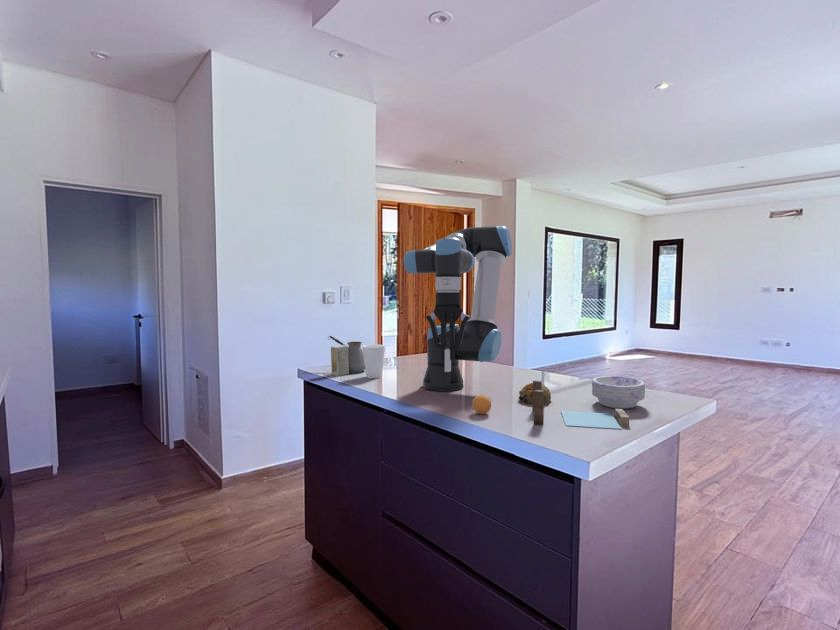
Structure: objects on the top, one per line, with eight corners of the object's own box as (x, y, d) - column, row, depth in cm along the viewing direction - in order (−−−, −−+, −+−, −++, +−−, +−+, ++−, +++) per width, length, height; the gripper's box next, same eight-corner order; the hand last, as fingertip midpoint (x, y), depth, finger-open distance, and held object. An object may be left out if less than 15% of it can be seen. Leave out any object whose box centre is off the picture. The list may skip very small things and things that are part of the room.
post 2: (533, 421, 123) (533, 389, 123) (543, 422, 123) (543, 390, 122) (533, 424, 121) (534, 392, 120) (543, 425, 120) (544, 392, 120)
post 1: (532, 409, 136) (532, 380, 135) (541, 409, 135) (541, 380, 135) (532, 411, 133) (532, 382, 133) (541, 412, 133) (541, 382, 132)
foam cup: (384, 379, 180) (384, 347, 179) (361, 379, 180) (361, 347, 179) (386, 374, 190) (386, 344, 189) (364, 374, 190) (364, 344, 189)
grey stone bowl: (584, 406, 139) (584, 381, 139) (601, 396, 151) (601, 373, 150) (636, 415, 129) (637, 388, 129) (650, 404, 141) (651, 379, 140)
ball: (473, 410, 135) (473, 392, 134) (491, 411, 134) (491, 393, 133) (471, 415, 129) (471, 397, 129) (490, 416, 128) (490, 398, 128)
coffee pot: (373, 370, 199) (372, 337, 198) (356, 374, 190) (355, 339, 189) (338, 365, 211) (337, 334, 210) (320, 369, 201) (319, 336, 200)
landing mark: (560, 411, 133) (560, 410, 133) (610, 414, 130) (610, 413, 130) (565, 426, 120) (565, 425, 120) (621, 429, 117) (621, 428, 117)
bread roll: (546, 417, 140) (557, 395, 139) (516, 402, 142) (527, 380, 141) (544, 408, 150) (554, 387, 149) (516, 394, 152) (526, 373, 150)
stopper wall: (614, 417, 127) (615, 408, 127) (622, 417, 127) (622, 409, 127) (621, 425, 120) (621, 416, 119) (629, 426, 119) (629, 417, 119)
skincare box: (343, 372, 194) (342, 344, 193) (349, 374, 191) (348, 345, 190) (330, 374, 190) (330, 346, 189) (336, 376, 186) (336, 347, 186)
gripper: (423, 291, 129) (423, 372, 130) (468, 291, 126) (468, 374, 128) (429, 291, 136) (428, 368, 138) (471, 291, 133) (471, 369, 135)
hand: (447, 370), depth 133 cm, fingers closed
